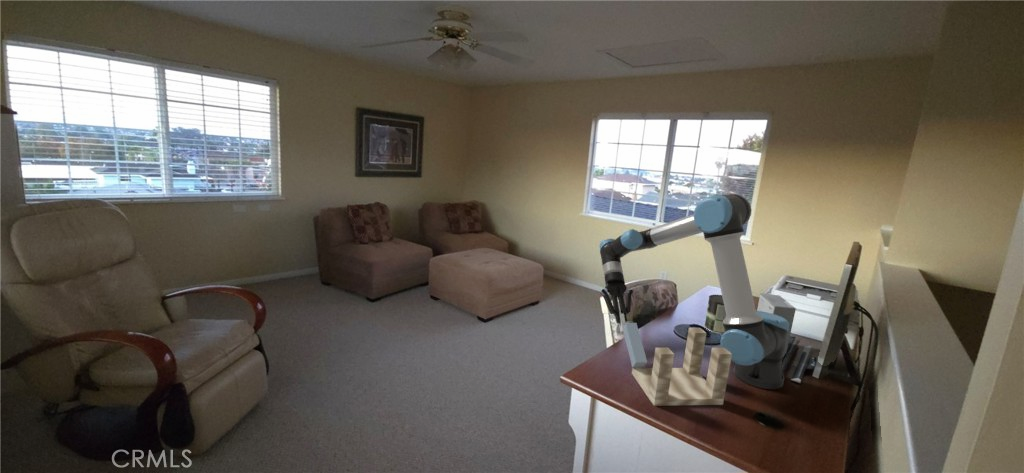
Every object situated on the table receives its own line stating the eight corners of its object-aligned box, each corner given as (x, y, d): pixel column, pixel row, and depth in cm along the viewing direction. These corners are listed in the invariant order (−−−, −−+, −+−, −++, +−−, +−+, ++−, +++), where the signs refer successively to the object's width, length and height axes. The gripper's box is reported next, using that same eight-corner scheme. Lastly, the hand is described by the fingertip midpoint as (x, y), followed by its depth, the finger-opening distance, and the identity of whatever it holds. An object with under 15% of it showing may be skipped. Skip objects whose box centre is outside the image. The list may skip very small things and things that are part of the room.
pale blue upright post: (643, 367, 144) (632, 326, 155) (647, 362, 141) (635, 320, 152) (632, 367, 144) (621, 326, 154) (635, 362, 141) (625, 320, 151)
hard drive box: (786, 357, 161) (796, 308, 156) (764, 354, 162) (774, 306, 158) (770, 339, 176) (779, 294, 171) (750, 337, 177) (759, 292, 173)
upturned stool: (692, 372, 146) (700, 327, 143) (722, 404, 129) (732, 354, 125) (631, 373, 144) (637, 327, 140) (654, 405, 127) (661, 354, 123)
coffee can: (700, 328, 183) (705, 298, 180) (709, 322, 190) (714, 292, 187) (725, 336, 176) (731, 305, 173) (733, 329, 184) (738, 299, 180)
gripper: (626, 279, 174) (636, 334, 162) (595, 278, 173) (603, 334, 160) (632, 270, 168) (644, 327, 155) (600, 270, 166) (609, 327, 154)
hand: (623, 331), depth 158 cm, fingers closed
